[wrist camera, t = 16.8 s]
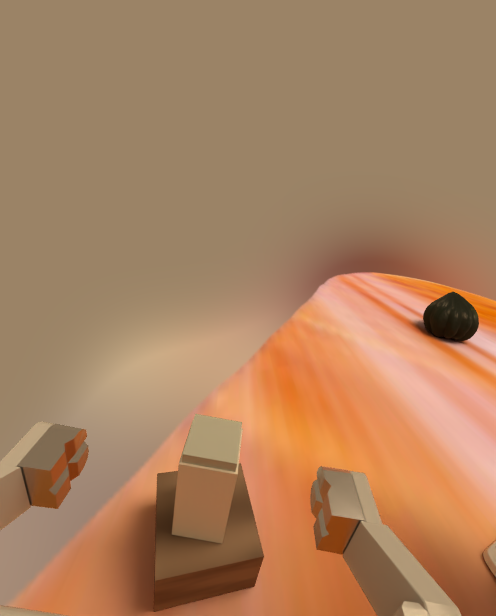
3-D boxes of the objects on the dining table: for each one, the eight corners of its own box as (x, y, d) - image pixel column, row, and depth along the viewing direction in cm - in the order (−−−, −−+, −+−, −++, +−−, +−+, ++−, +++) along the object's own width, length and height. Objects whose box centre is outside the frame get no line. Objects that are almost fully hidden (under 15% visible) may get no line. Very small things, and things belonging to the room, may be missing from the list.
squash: (484, 340, 85) (490, 294, 89) (427, 326, 90) (435, 282, 94) (462, 351, 98) (468, 310, 102) (413, 338, 103) (421, 299, 107)
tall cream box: (185, 485, 33) (194, 411, 29) (228, 493, 33) (244, 421, 29) (171, 534, 29) (179, 455, 24) (222, 543, 29) (239, 466, 24)
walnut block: (156, 505, 37) (157, 473, 34) (234, 493, 39) (240, 463, 37) (153, 613, 28) (155, 580, 25) (253, 587, 31) (263, 556, 28)
